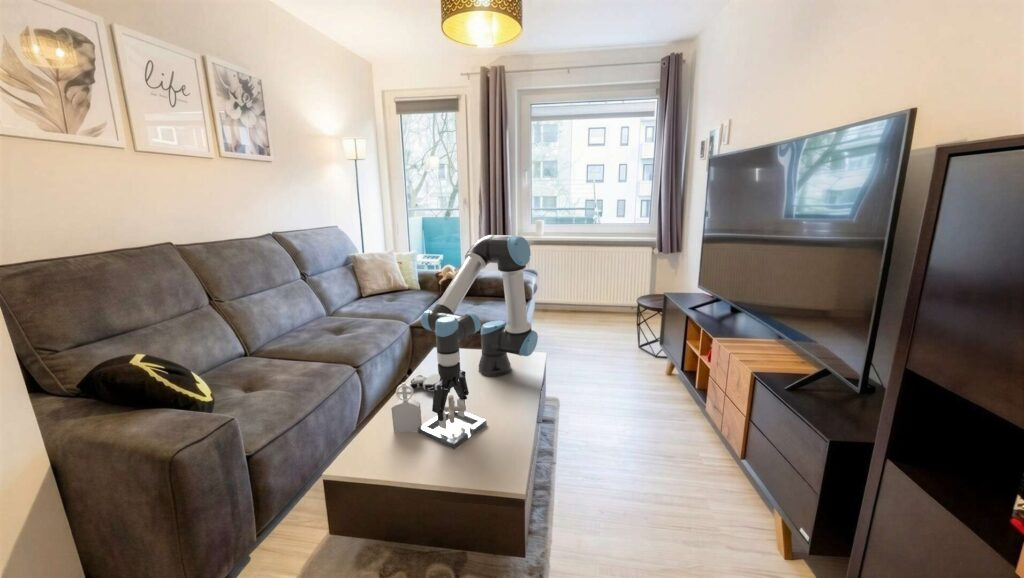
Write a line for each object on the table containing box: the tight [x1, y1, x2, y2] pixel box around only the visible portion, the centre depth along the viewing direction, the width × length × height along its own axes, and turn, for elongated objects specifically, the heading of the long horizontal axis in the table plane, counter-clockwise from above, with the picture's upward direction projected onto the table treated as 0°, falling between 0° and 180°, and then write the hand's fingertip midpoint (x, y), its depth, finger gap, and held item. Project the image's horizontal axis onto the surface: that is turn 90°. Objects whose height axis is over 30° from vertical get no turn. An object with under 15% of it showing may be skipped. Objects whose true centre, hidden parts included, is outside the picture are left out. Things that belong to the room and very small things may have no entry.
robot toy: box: [406, 373, 440, 392], centre depth 175 cm, size 12×4×15 cm
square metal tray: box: [417, 411, 487, 450], centre depth 144 cm, size 17×17×2 cm
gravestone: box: [391, 382, 423, 433], centre depth 142 cm, size 3×9×18 cm, turn 92°
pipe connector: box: [444, 394, 467, 423], centre depth 142 cm, size 10×10×10 cm
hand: (452, 421), depth 144 cm, fingers closed on pipe connector, 9 cm apart
